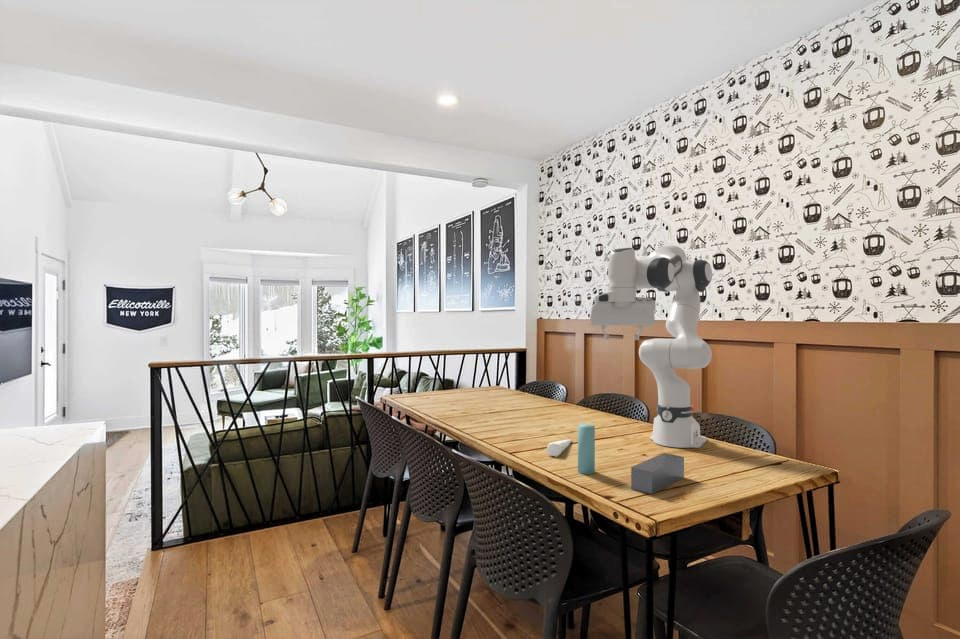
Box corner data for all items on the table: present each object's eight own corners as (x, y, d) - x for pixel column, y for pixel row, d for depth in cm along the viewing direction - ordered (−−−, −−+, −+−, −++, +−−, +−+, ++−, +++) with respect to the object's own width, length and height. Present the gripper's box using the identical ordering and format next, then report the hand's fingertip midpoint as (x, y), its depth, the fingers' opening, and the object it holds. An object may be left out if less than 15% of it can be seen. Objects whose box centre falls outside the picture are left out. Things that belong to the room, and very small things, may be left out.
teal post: (584, 468, 152) (583, 423, 152) (598, 471, 148) (597, 425, 148) (574, 471, 149) (574, 425, 149) (588, 475, 145) (588, 428, 145)
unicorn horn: (581, 442, 184) (581, 429, 184) (559, 458, 164) (559, 444, 164) (569, 441, 187) (568, 428, 187) (546, 456, 166) (546, 442, 166)
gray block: (664, 472, 148) (664, 452, 148) (684, 477, 143) (684, 456, 143) (631, 488, 134) (631, 467, 134) (652, 494, 129) (652, 471, 129)
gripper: (654, 297, 160) (653, 340, 159) (590, 297, 164) (589, 339, 164) (656, 296, 153) (656, 340, 153) (590, 296, 158) (589, 339, 158)
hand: (621, 339), depth 159 cm, fingers open, 8 cm apart
